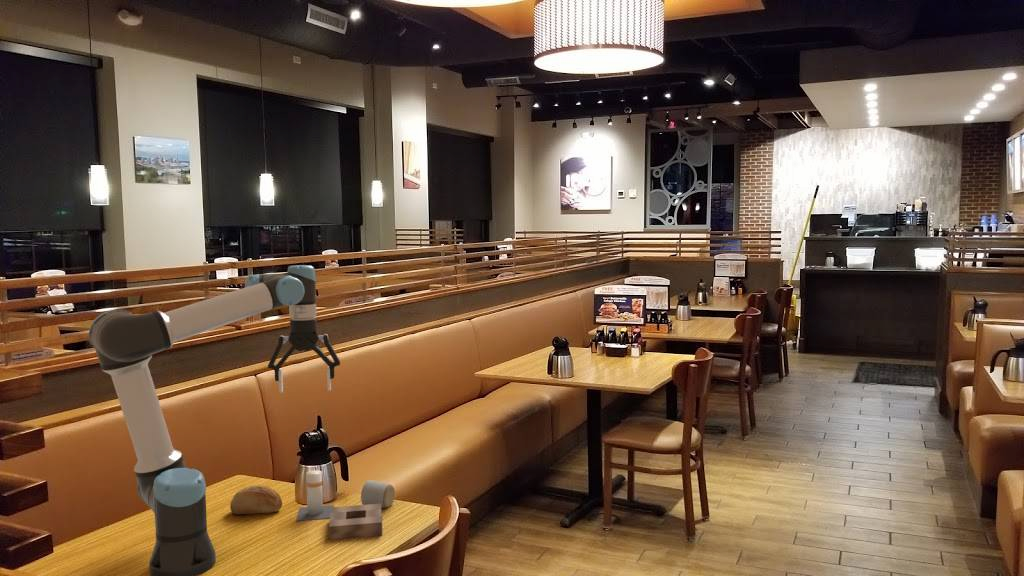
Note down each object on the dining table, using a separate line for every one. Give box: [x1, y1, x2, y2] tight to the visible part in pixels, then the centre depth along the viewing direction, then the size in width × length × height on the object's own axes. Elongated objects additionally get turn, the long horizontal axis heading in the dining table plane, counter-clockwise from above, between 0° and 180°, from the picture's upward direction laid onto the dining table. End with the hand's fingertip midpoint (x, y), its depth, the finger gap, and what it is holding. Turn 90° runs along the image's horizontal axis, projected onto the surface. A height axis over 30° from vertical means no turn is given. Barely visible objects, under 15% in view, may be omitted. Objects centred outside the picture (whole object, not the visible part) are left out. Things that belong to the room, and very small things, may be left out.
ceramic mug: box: [360, 479, 395, 509], centre depth 224 cm, size 11×8×8 cm
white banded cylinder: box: [305, 469, 324, 515], centre depth 217 cm, size 4×4×12 cm
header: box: [328, 504, 384, 541], centre depth 206 cm, size 14×14×4 cm
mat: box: [295, 504, 335, 522], centre depth 217 cm, size 10×10×1 cm
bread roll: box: [229, 484, 283, 515], centre depth 219 cm, size 10×15×8 cm, turn 95°
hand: (305, 390), depth 215 cm, fingers open, 13 cm apart
